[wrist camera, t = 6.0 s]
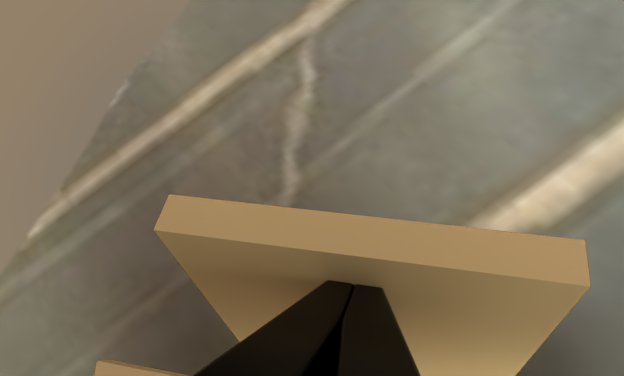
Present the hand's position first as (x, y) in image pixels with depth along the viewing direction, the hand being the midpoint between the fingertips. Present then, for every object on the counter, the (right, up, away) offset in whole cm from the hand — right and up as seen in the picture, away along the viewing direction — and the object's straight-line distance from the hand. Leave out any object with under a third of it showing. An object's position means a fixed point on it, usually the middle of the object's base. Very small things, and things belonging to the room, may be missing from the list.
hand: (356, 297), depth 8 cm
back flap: (+1, -4, +6) cm, 7 cm away
